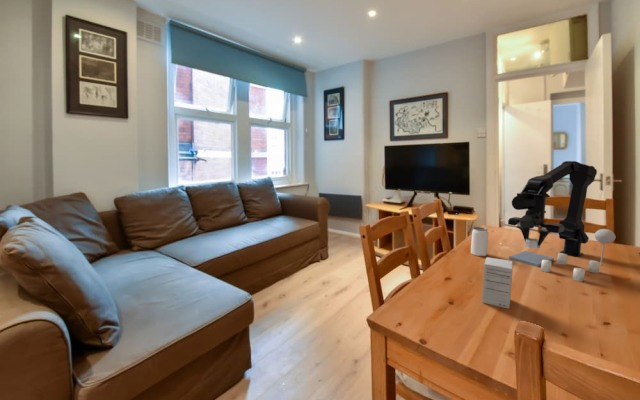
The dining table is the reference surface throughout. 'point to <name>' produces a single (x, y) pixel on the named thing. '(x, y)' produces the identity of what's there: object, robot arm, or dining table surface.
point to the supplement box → (497, 282)
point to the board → (530, 258)
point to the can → (479, 241)
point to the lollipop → (604, 238)
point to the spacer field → (578, 272)
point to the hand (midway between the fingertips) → (532, 244)
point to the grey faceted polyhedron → (532, 243)
